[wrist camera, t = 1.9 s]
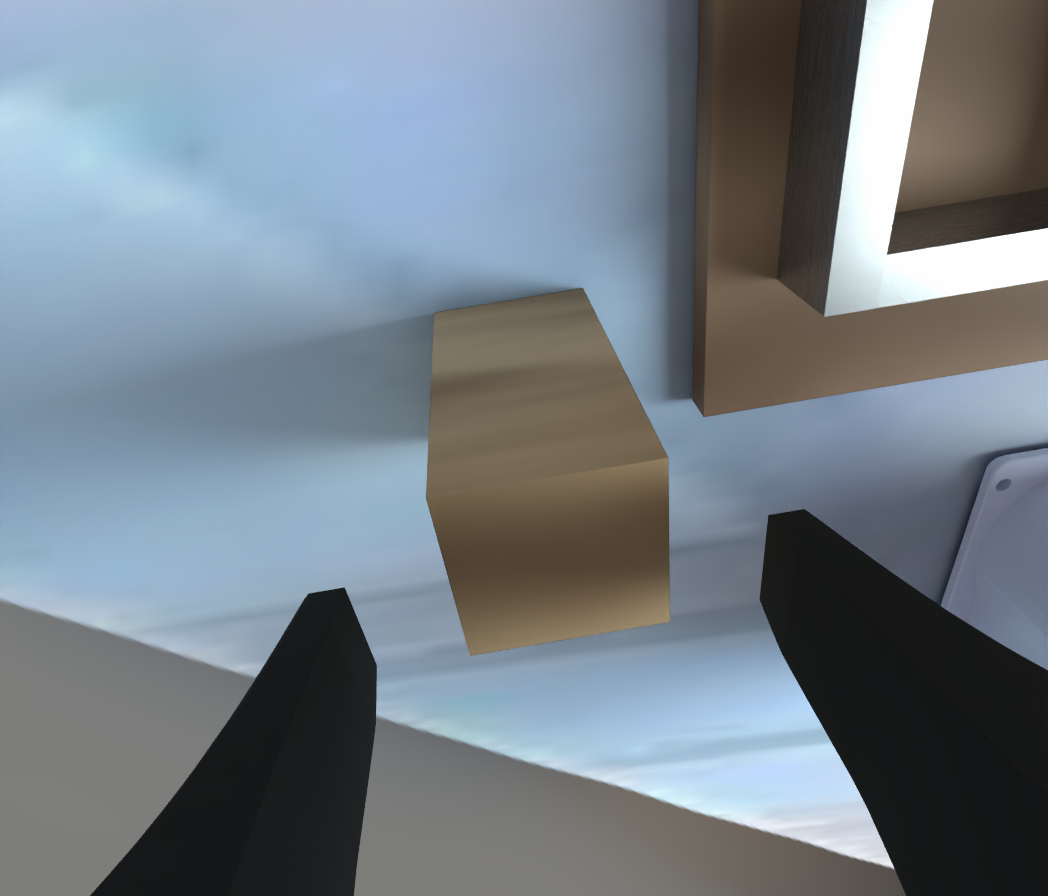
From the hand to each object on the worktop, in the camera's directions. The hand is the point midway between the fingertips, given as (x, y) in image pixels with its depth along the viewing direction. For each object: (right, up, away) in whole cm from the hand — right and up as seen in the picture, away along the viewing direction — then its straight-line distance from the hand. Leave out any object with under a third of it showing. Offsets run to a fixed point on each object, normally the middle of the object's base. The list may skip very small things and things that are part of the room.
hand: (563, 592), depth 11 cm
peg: (-1, +5, +7) cm, 9 cm away
